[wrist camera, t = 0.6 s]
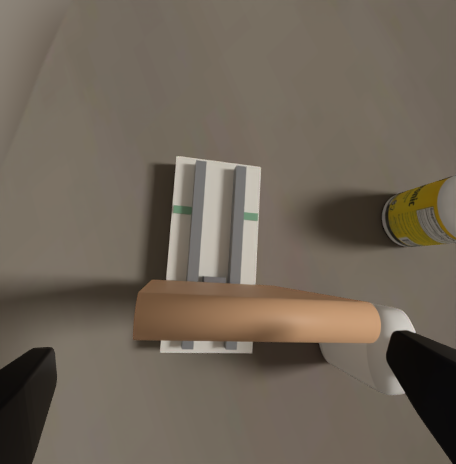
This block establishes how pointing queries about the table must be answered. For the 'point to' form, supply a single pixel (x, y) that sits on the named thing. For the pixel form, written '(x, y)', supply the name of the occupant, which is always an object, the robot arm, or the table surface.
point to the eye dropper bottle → (371, 353)
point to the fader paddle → (249, 314)
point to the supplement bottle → (422, 215)
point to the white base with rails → (213, 233)
